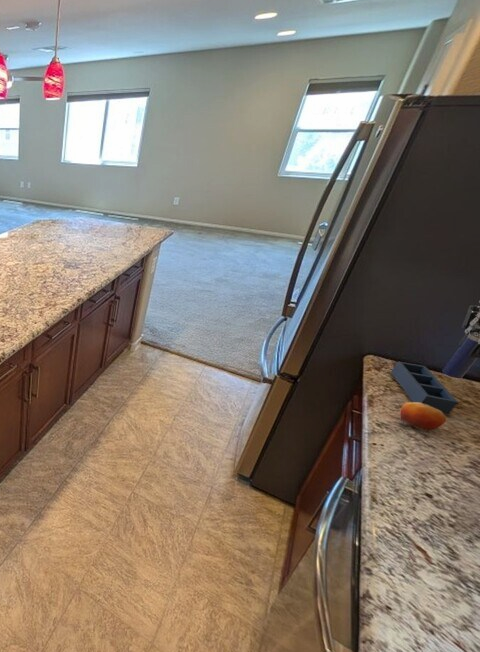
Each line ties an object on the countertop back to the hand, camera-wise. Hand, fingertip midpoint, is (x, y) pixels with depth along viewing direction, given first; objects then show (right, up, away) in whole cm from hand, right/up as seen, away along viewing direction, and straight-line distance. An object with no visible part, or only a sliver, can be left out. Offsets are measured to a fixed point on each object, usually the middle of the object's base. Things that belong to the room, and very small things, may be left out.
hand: (469, 351), depth 97 cm
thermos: (0, -6, +4) cm, 7 cm away
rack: (+11, -14, +21) cm, 27 cm away
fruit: (-3, -21, +9) cm, 24 cm away
